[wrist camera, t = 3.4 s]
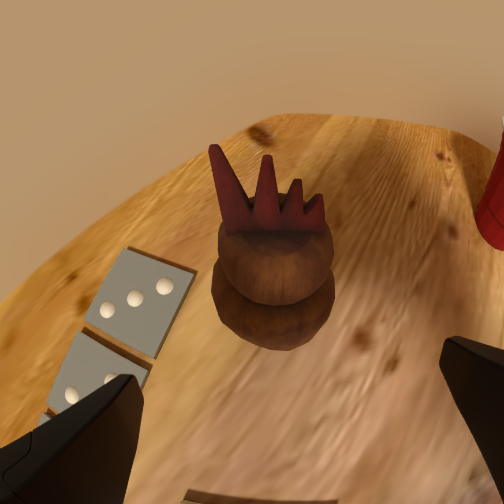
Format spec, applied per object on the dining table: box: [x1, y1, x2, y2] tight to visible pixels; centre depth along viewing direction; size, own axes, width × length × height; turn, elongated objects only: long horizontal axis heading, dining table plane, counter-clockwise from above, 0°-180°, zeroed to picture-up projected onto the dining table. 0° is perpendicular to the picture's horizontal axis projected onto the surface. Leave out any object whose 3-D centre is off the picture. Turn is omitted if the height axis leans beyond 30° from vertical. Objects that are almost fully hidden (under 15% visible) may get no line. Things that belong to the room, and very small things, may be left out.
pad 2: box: [46, 330, 150, 413], centre depth 18 cm, size 7×7×1 cm
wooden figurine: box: [208, 144, 335, 351], centre depth 14 cm, size 7×6×15 cm
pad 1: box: [83, 248, 195, 359], centre depth 22 cm, size 7×7×1 cm
